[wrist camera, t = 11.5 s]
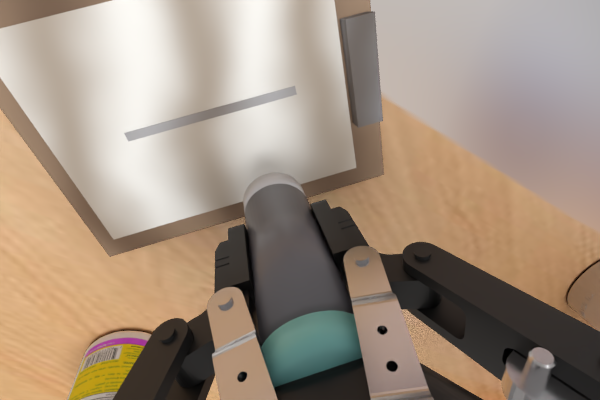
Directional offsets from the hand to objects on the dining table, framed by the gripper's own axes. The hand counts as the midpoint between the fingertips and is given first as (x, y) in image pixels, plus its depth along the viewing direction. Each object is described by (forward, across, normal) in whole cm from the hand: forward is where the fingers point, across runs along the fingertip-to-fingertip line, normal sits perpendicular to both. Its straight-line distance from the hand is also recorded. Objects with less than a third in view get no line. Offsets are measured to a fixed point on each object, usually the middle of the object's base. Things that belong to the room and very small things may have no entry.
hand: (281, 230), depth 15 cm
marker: (+3, 0, 0) cm, 3 cm away
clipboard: (+8, +2, -4) cm, 9 cm away
